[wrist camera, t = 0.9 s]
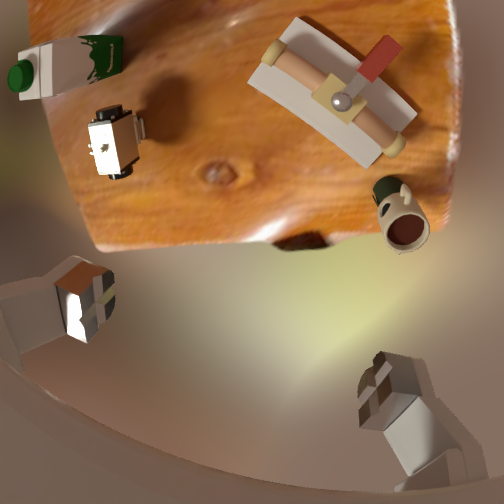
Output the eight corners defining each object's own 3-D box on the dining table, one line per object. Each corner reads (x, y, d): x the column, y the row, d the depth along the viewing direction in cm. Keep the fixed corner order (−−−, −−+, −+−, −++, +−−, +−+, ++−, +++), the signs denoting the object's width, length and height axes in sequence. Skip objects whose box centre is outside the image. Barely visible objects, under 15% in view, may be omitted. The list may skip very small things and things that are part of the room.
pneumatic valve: (144, 96, 44) (104, 112, 34) (153, 156, 51) (119, 185, 42) (119, 100, 45) (77, 118, 35) (128, 157, 52) (93, 185, 43)
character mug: (371, 161, 45) (388, 197, 35) (410, 163, 43) (436, 199, 33) (367, 217, 51) (379, 263, 41) (403, 218, 50) (422, 263, 40)
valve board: (296, 18, 33) (294, 10, 26) (414, 111, 38) (433, 124, 31) (248, 81, 40) (237, 88, 34) (364, 166, 46) (373, 187, 39)
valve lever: (383, 34, 26) (387, 34, 25) (399, 48, 27) (403, 48, 25) (326, 101, 33) (327, 104, 32) (342, 113, 34) (344, 117, 32)
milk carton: (89, 36, 37) (5, 52, 21) (128, 31, 36) (44, 39, 21) (87, 79, 42) (7, 109, 27) (126, 77, 42) (45, 105, 26)
